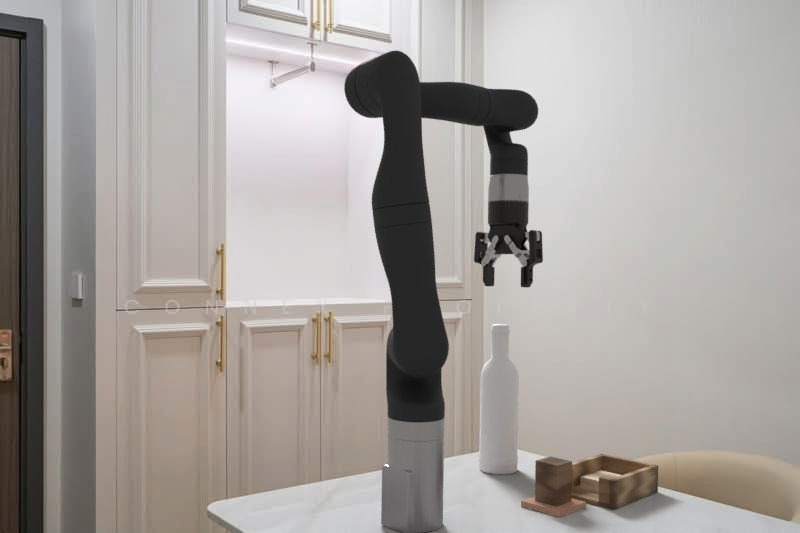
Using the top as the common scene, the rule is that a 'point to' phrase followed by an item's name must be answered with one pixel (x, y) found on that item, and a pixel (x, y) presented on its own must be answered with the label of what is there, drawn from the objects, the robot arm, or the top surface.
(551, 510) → the terracotta tile
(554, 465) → the walnut block
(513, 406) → the bottle
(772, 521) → the top surface
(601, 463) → the oak box
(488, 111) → the robot arm
